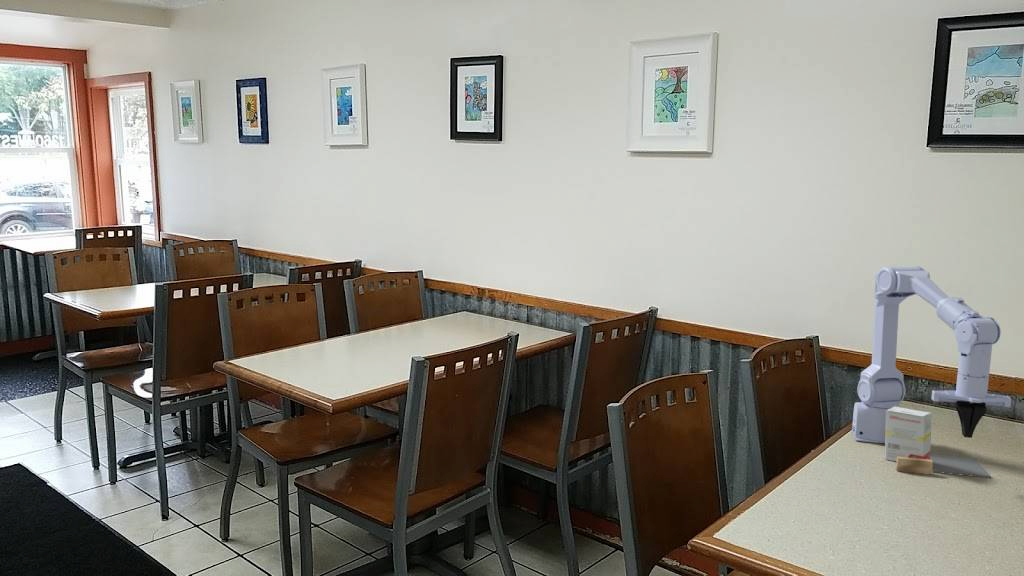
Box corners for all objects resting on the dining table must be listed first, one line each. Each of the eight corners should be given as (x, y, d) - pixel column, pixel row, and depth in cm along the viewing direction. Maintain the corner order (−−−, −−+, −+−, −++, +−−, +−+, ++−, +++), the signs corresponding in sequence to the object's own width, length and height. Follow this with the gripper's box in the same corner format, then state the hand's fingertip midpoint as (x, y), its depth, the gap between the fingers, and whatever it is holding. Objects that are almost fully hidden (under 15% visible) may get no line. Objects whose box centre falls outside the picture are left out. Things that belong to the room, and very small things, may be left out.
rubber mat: (932, 472, 173) (932, 470, 173) (921, 455, 184) (921, 453, 184) (990, 478, 170) (990, 476, 170) (975, 460, 180) (976, 458, 180)
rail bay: (896, 471, 174) (898, 458, 173) (885, 449, 187) (886, 437, 187) (931, 474, 172) (932, 461, 171) (917, 452, 185) (918, 440, 185)
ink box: (931, 461, 178) (933, 411, 176) (923, 468, 175) (925, 417, 173) (892, 453, 184) (893, 405, 183) (884, 459, 181) (885, 409, 179)
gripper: (939, 376, 162) (933, 438, 164) (1018, 381, 158) (1011, 445, 160) (931, 368, 169) (925, 428, 171) (1007, 373, 165) (1000, 434, 167)
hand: (966, 436), depth 166 cm, fingers closed
